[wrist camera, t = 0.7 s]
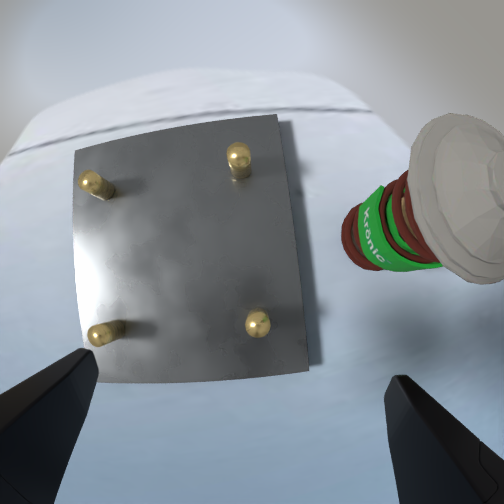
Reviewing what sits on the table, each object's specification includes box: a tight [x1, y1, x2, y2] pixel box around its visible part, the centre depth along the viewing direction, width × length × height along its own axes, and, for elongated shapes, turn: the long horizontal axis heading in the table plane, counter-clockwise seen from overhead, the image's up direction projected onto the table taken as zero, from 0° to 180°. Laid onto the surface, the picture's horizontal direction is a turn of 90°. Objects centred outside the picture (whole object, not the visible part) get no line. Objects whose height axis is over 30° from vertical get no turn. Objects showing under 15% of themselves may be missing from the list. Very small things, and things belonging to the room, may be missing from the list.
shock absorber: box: [341, 113, 504, 284], centre depth 15 cm, size 6×6×15 cm
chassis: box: [73, 114, 309, 383], centre depth 20 cm, size 18×16×4 cm
